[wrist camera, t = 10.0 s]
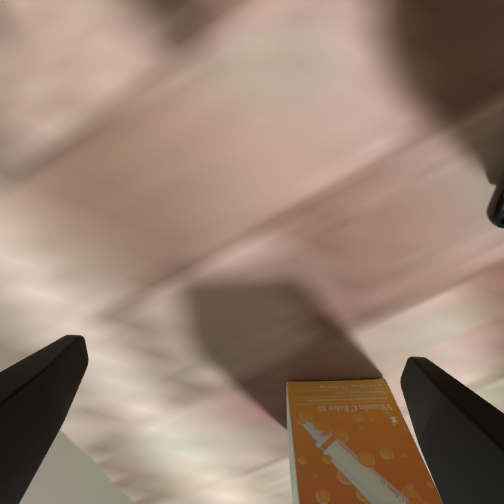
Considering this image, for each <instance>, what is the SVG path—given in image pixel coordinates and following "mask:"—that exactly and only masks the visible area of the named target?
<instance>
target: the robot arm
mask: <svg viewBox="0 0 504 504" xmlns="http://www.w3.org/2000/svg"><path fill="white" fill-rule="evenodd" d="M503 217H504V190H503V193H502V195H501V198H500V200H499V202H498V205H497V207H496V210H495V212H494V214H493V217H492V224H493V225H495V226H497V227H499V228H504V220H503V221H501V219H502V218H503ZM500 221H501V222H500ZM87 366H88V353H87V348H86V343H85V339H84V337H83V336H81V335H66V336H64V337H62V338H60V339H58V340H57V341H55V342H53V343H51V344H49V345H48V346H46V347H44V348H42V349H41V350H39V351H37V352H35V353H33V354H32V355H30V356H28V357H26V358H24V359H23V360H21V361H19V362H17V363H16V364H14V365H12V366H10V367H8V368H7V369H5V370H3V371H1V372H0V504H19V503H20V501H21V499H22V498H23V496H24V494H25V492H26V490H27V488H28V487H29V485H30V483H31V481H32V479H33V477H34V476H35V474H36V472H37V470H38V468H39V466H40V465H41V463H42V461H43V459H44V457H45V455H46V454H47V452H48V450H49V448H50V446H51V445H52V443H53V441H54V439H55V437H56V435H57V434H58V432H59V430H60V428H61V426H62V424H63V422H64V420H65V418H66V416H67V413H68V411H69V409H70V406H71V404H72V402H73V399H74V397H75V395H76V392H77V390H78V388H79V385H80V383H81V380H82V378H83V376H84V373H85V371H86V369H87ZM401 388H402V391H403V395H404V398H405V401H406V405H407V408H408V411H409V415H410V418H411V421H412V425H413V428H414V431H415V434H416V437H417V440H418V443H419V446H420V448H421V451H422V453H423V456H424V458H425V461H426V463H427V466H428V468H429V471H430V473H431V475H432V478H433V480H434V483H435V485H436V488H437V490H438V492H439V495H440V497H441V500H442V502H443V504H504V413H502V412H501V411H500V410H498V409H497V408H495V407H494V406H493V405H491V404H490V403H488V402H487V401H486V400H484V399H483V398H481V397H480V396H479V395H477V394H476V393H474V392H473V391H472V390H470V389H469V388H467V387H466V386H465V385H463V384H462V383H460V382H459V381H458V380H456V379H455V378H453V377H452V376H451V375H449V374H448V373H446V372H445V371H444V370H442V369H441V368H439V367H438V366H437V365H435V364H434V363H432V362H431V361H430V360H428V359H427V358H424V357H409V358H408V360H407V362H406V365H405V368H404V371H403V373H402V376H401Z"/></svg>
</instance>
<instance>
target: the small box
mask: <svg viewBox="0 0 504 504" xmlns="http://www.w3.org/2000/svg"><path fill="white" fill-rule="evenodd" d="M286 401H287V441H288V452H289V464H290V476H291V487H292V498H293V504H443V502H442V500H441V497H440V495H439V493H438V491H437V489H436V486H435V485H434V483H433V480H432V478H431V476H430V474H429V472H428V470H427V467H426V465H425V463H424V461H423V459H422V456H421V454H420V452H419V450H418V448H417V446H416V443H415V441H414V439H413V437H412V435H411V433H410V431H409V428H408V426H407V424H406V422H405V420H404V418H403V416H402V414H401V411H400V409H399V407H398V405H397V403H396V401H395V399H394V396H393V394H392V392H391V390H390V388H389V386H388V384H387V382H386V380H385V379H384V378H381V379H368V380H343V381H309V382H295V381H289V382H287V383H286Z"/></svg>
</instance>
